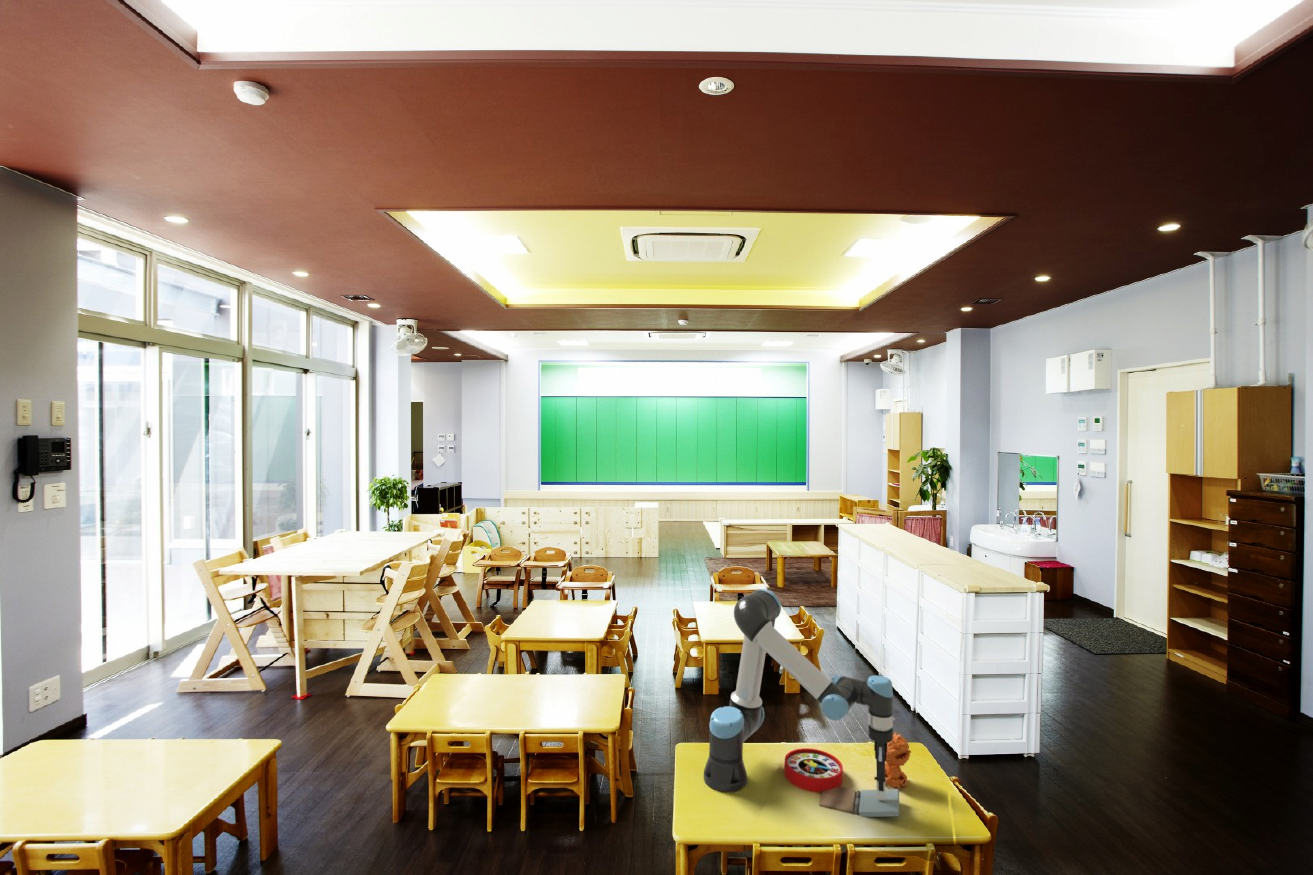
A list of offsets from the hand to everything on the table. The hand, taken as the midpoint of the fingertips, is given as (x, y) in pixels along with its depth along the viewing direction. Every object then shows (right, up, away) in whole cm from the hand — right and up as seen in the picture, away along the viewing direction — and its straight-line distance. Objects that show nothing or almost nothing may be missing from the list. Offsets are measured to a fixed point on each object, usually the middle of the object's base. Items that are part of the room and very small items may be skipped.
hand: (881, 798), depth 202 cm
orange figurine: (+10, -4, +16) cm, 19 cm away
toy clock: (-17, -4, +19) cm, 26 cm away
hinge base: (-12, -4, +5) cm, 14 cm away
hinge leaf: (-1, -2, +1) cm, 3 cm away
